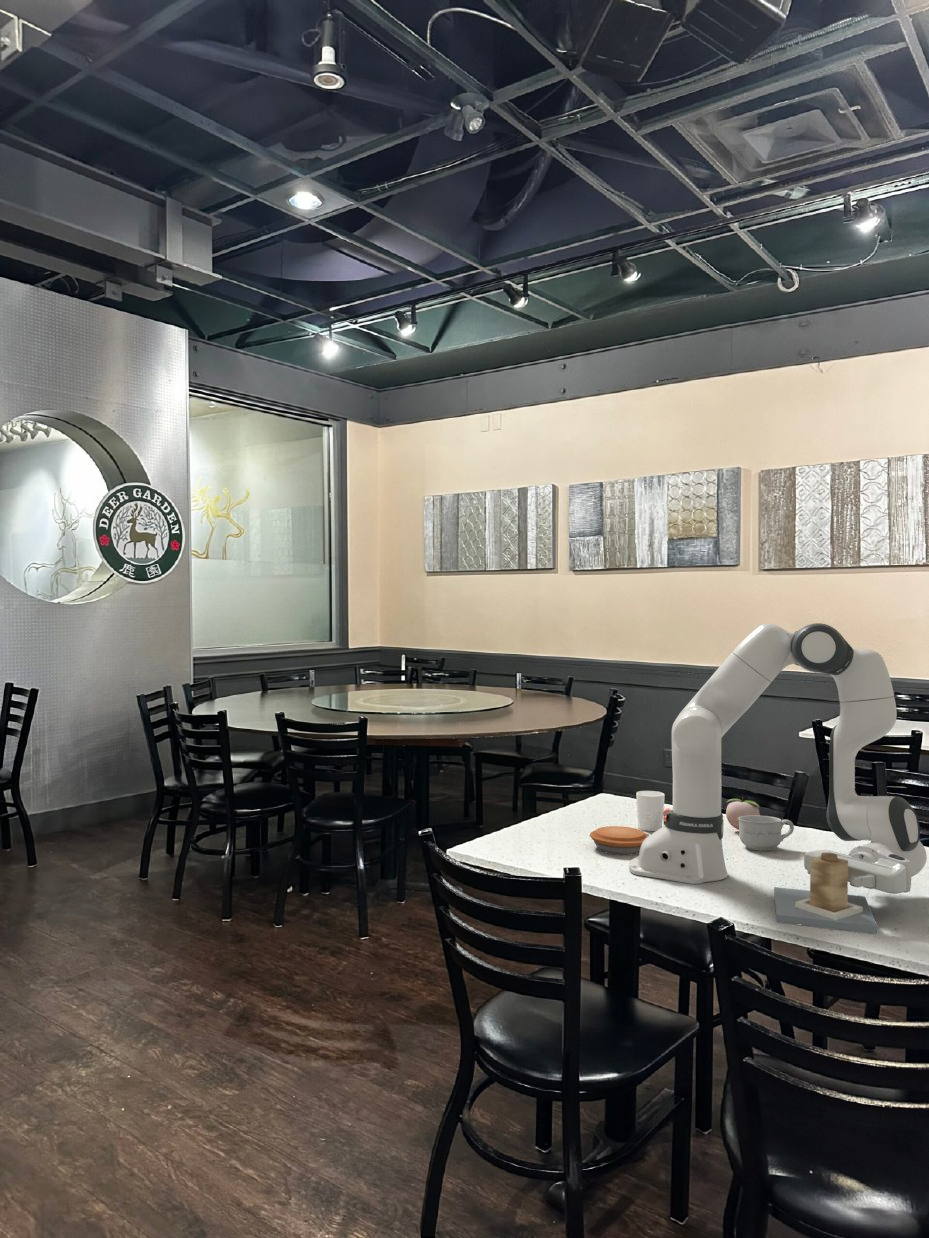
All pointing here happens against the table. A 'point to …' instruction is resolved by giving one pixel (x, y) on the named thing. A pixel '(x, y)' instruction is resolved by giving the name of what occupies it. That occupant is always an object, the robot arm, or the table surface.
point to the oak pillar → (829, 882)
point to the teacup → (762, 831)
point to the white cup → (650, 810)
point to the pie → (618, 839)
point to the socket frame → (847, 912)
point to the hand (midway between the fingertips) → (831, 876)
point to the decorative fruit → (740, 810)
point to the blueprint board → (795, 915)
